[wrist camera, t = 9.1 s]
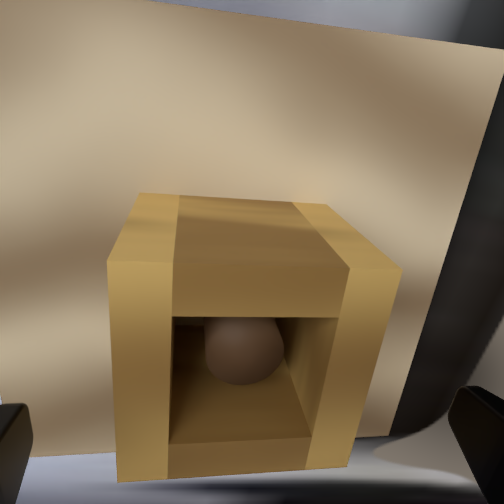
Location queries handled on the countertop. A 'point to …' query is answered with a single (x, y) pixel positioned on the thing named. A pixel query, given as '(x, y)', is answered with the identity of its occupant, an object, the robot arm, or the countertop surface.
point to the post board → (212, 175)
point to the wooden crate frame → (241, 305)
